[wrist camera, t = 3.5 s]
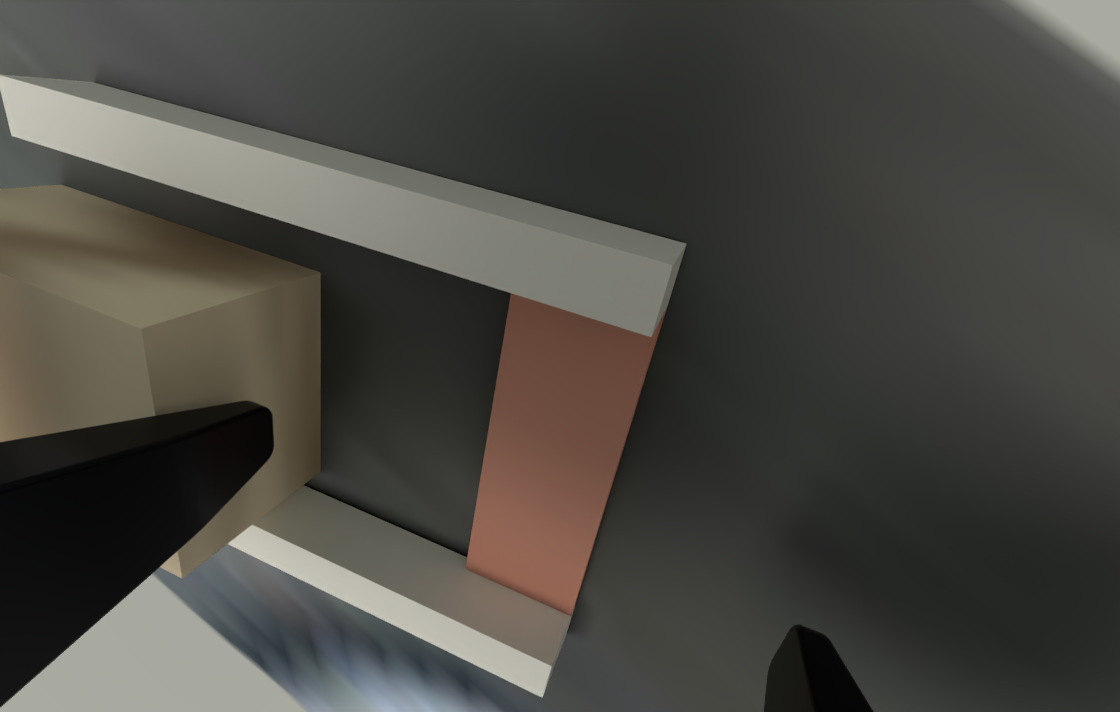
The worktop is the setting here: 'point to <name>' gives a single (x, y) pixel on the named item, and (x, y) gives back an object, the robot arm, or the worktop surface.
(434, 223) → the channel
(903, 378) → the worktop surface
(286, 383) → the birch block
